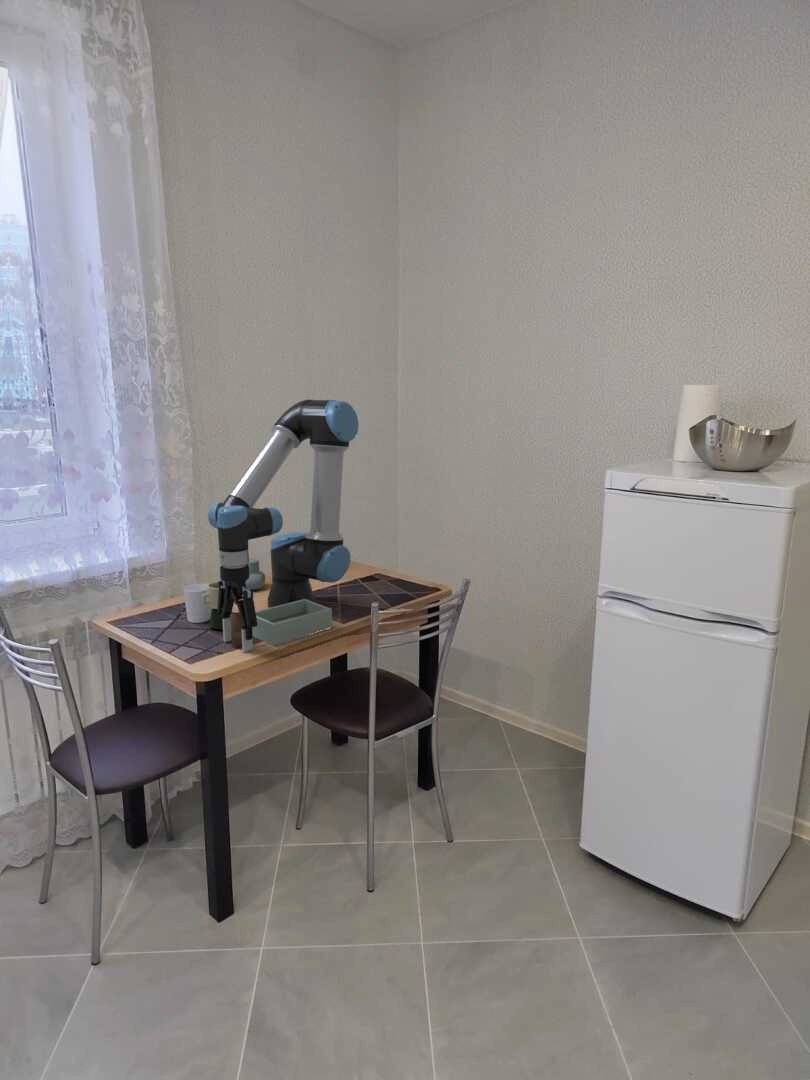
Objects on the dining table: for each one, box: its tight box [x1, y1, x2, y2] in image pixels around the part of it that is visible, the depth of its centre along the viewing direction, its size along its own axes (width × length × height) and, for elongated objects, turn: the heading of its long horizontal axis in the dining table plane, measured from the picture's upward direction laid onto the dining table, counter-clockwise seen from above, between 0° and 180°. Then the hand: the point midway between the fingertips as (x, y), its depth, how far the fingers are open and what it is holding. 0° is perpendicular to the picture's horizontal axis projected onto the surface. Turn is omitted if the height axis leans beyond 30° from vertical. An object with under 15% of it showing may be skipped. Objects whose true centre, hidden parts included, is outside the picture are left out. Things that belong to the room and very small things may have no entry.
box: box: [252, 599, 333, 647], centre depth 203 cm, size 20×13×6 cm, turn 134°
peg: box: [230, 611, 243, 649], centre depth 191 cm, size 4×4×9 cm
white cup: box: [183, 583, 212, 624], centre depth 212 cm, size 8×8×10 cm
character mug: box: [202, 581, 230, 630], centre depth 205 cm, size 11×7×13 cm, turn 132°
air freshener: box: [245, 557, 266, 591], centre depth 244 cm, size 11×8×10 cm
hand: (238, 645), depth 192 cm, fingers open, 9 cm apart
